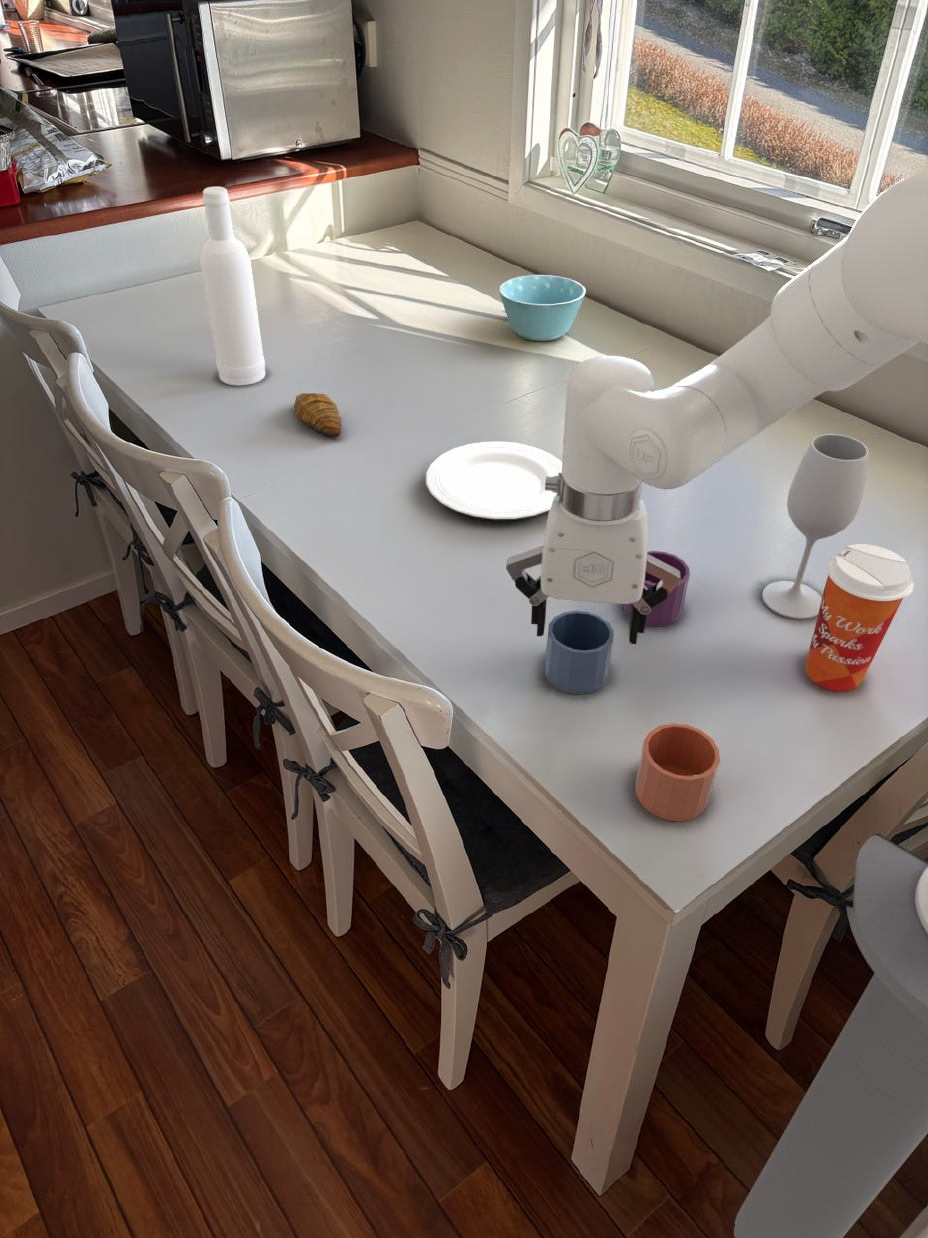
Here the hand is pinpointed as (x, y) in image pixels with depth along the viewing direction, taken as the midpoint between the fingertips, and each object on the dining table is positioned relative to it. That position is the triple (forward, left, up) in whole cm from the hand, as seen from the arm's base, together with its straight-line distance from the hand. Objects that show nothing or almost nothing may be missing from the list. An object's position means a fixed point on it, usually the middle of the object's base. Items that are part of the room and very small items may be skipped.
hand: (586, 632), depth 97 cm
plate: (+36, -17, -7) cm, 40 cm away
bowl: (+75, -58, -7) cm, 95 cm away
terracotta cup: (-17, +4, -6) cm, 19 cm away
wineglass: (-5, -30, -7) cm, 31 cm away
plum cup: (+4, -15, -6) cm, 17 cm away
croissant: (+68, -6, -7) cm, 68 cm away
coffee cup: (-16, -23, -7) cm, 29 cm away
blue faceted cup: (+1, 0, -6) cm, 6 cm away
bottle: (+90, -4, -7) cm, 90 cm away
